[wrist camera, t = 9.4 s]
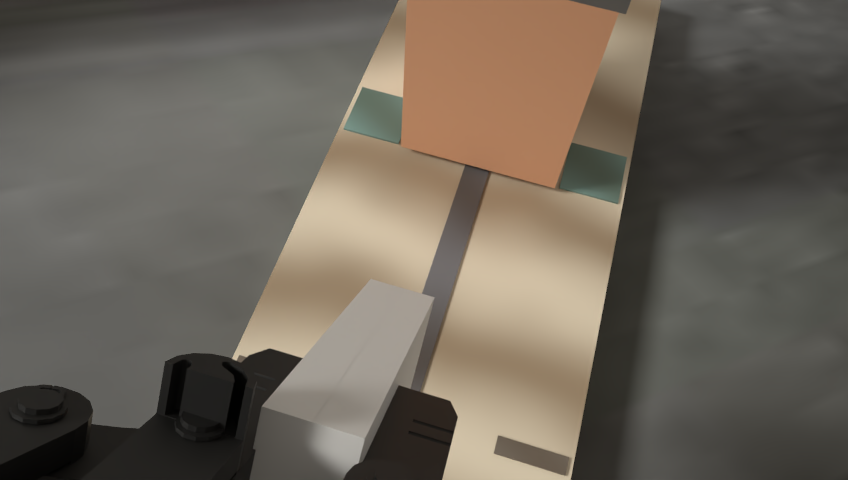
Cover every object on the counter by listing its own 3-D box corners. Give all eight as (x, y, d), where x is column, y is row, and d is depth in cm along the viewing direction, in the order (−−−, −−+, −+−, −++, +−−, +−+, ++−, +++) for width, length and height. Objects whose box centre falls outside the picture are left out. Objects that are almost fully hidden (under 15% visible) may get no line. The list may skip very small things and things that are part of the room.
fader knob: (559, 189, 29) (638, -20, 20) (396, 145, 30) (403, -76, 21) (582, 98, 31) (660, -123, 23) (431, 59, 32) (450, -170, 23)
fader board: (522, 673, 22) (534, 674, 21) (163, 550, 24) (146, 540, 22) (649, 22, 37) (663, -10, 36) (426, -32, 39) (428, -67, 37)
